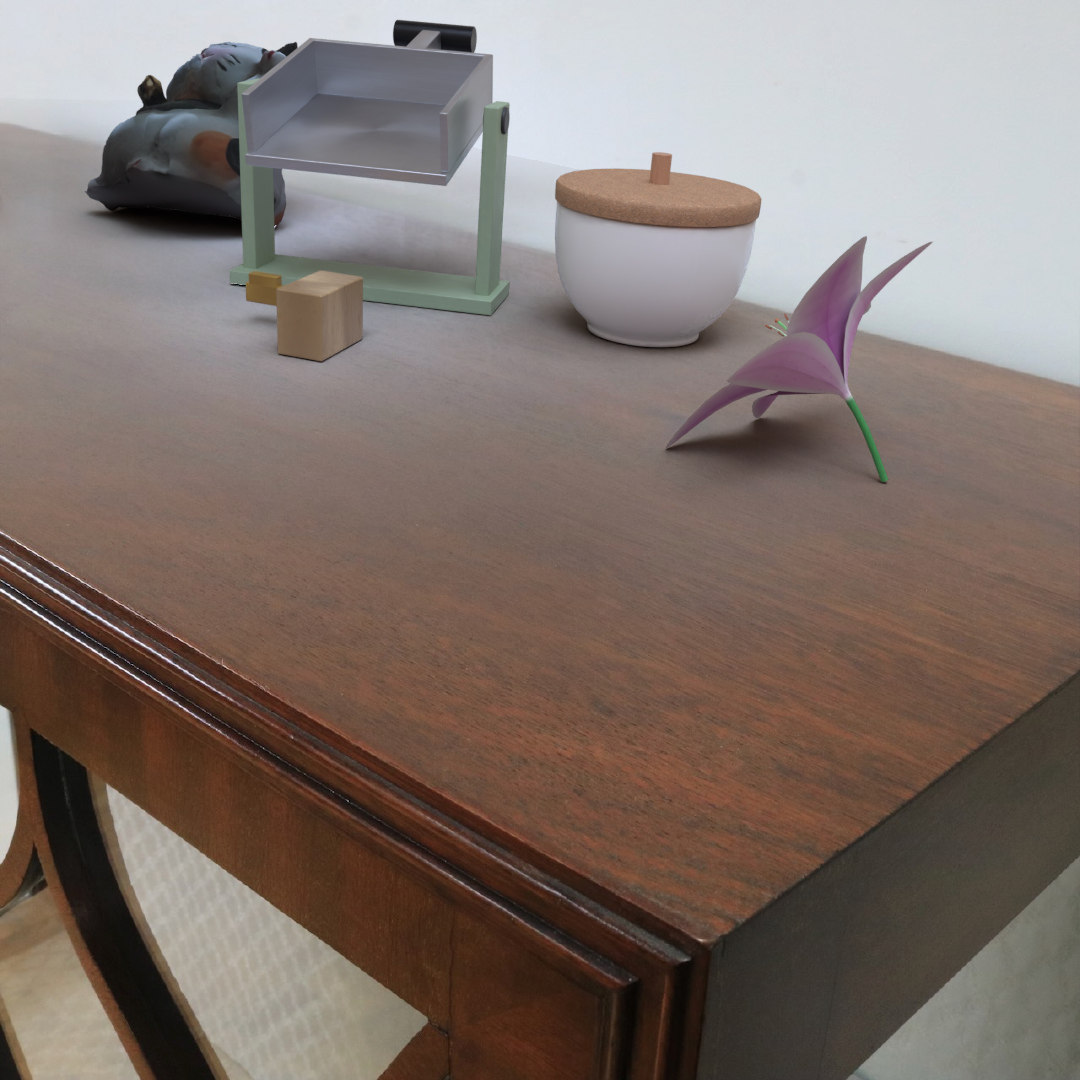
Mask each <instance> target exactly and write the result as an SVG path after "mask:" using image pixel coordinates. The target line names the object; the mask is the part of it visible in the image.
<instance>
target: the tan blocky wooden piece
mask: <svg viewBox="0 0 1080 1080" xmlns="http://www.w3.org/2000/svg"><path fill="white" fill-rule="evenodd" d="M245 301H246V302H250V303H255V304H261V305H268V306H275V307H276V334H277V335H276V338H277V343H276V344H277V354H278V355H284V356H288V357H293V358H294V357H295V358H298V359H299V358H300V359H304V360H305V359H306V360H309V361H315V362H316V361H317V362H323V361H325V360H327V359H329V358H331V357H332V356H334V355H336V354H338V353H339V352H341V351H344V350H345V349H348V347H350V346H352V345H354V344H355V343H357V342H359V341H361V340H363V331H364V330H363V329H364V328H363V327H364V325H363V323H364V317H363V316H364V314H363V313H364V300H363V277H360V276H353V275H347V274H341V273H334V272H328V271H322V270H320V271H318V272H315V273H313V274H311V275H308V276H306V277H304V278H301V279H299V280H296V281H294V282H292V283H289V284H287V285H282V276H281V275H277V274H271V273H264V272H258V271H253V272H250V273H249V281H248V282H246V286H245Z"/></svg>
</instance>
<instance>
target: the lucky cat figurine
mask: <svg viewBox="0 0 1080 1080" xmlns="http://www.w3.org/2000/svg"><path fill="white" fill-rule="evenodd" d="M298 47H299V46H298V42H297V41H294V42H288V43H286V44H285V45H284V46H281V47H280V48H278V49H276V50H275V49H274V50H273V49H271V50H268V49H267V48H264V47H261V46H258V45H257V46H256V45H253V44H250V43H242V42H234V41H233V42H231V41H225V42H219V43H210V45H208V47H205V48H203V49H202V50H201V52H200V53H196V54H195V55H193V56H192V57H191V58H190V60H187V61H186V62H185V63H184V64H182V65H180V66H179V67H178V68H177V69H176V71H175V72H174V74H173V76H172V78H171V80H170V82H169V83H168V85H167V87H166V90H165V93H164V90H163V86H162V82H161V80H160V79H157V77H155V76H154V75H152V74H148V75H146V76H145V78H144V79H143V81H142V82H141V83H140V84H139V85H138V86H137V89H136V90H137V95H138V97H139V99H140V100H141V103H142V104H143V105H142V107H140V108H139V109H138V110H136V112H135V114H134V116H132V117H129V118H127V119H126V120H124V121H122V122H120V123H118V125H116V126H114V128H113V129H112V131H111V132H109V135H108V136H107V139H106V140H105V144H104V146H103V149H102V159H101V173H100V174H99V176H97V177H95V178H92V179H91V180H89V182H88V184H87V189H86V190H84V193H85V194H86V195H87V196H88V197H89V198H90V199H91V200H93V201H98V202H99V203H101V204H102V205H103V206H104V207H105V208H106V209H107V210H109V211H111V212H114V211H116V210H118V209H138V208H139V209H140V208H141V209H142V208H143V209H145V208H155V209H164V210H171V211H179V212H187V213H196V214H204V215H211V216H217V217H218V216H220V217H226V218H227V217H228V218H234V219H236V220H240V221H242V210H241V180H240V149H239V118H238V88H237V83H239V82H243V81H248V80H253V79H258V78H261V77H263V76H264V75H265V74H266V73H267V72H269V71H270V70H271V69H272V68H274V67H275V66H276V65H277V64H278V63H280V62H281V61H282V60H283V59H285V58H286V57H287V56H288V55H289V54H291V53H292V52H293V51H294V50H296V49H297V48H298ZM273 187H274V226H275V225H277V226H279V225H280V224H281V222H282V221H283V219H284V216H285V210H286V207H287V200H286V198H287V195H286V182H285V179H284V175H283V169H279V168H273Z"/></svg>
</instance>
